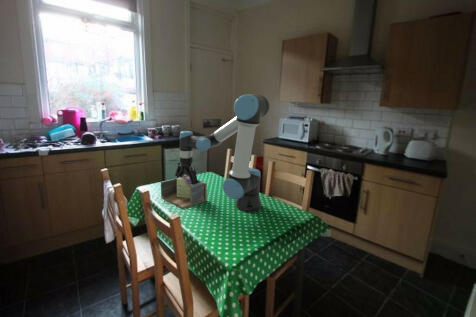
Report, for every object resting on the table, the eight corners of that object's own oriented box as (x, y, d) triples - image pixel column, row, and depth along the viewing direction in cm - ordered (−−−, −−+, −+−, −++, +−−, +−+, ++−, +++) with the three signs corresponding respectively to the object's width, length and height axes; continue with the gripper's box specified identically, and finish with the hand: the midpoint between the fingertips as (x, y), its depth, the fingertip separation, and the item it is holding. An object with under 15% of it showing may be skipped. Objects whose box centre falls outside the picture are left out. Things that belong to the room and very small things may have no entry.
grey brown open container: (206, 200, 157) (206, 181, 154) (182, 208, 143) (182, 188, 141) (185, 190, 171) (184, 173, 168) (161, 197, 158) (160, 178, 155)
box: (195, 195, 161) (195, 177, 158) (193, 198, 155) (193, 180, 152) (179, 194, 162) (179, 176, 159) (176, 197, 156) (176, 179, 153)
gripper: (204, 160, 147) (203, 194, 152) (179, 152, 163) (179, 183, 168) (194, 162, 142) (193, 197, 147) (169, 153, 158) (169, 186, 163)
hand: (186, 190), depth 157 cm, fingers open, 13 cm apart
